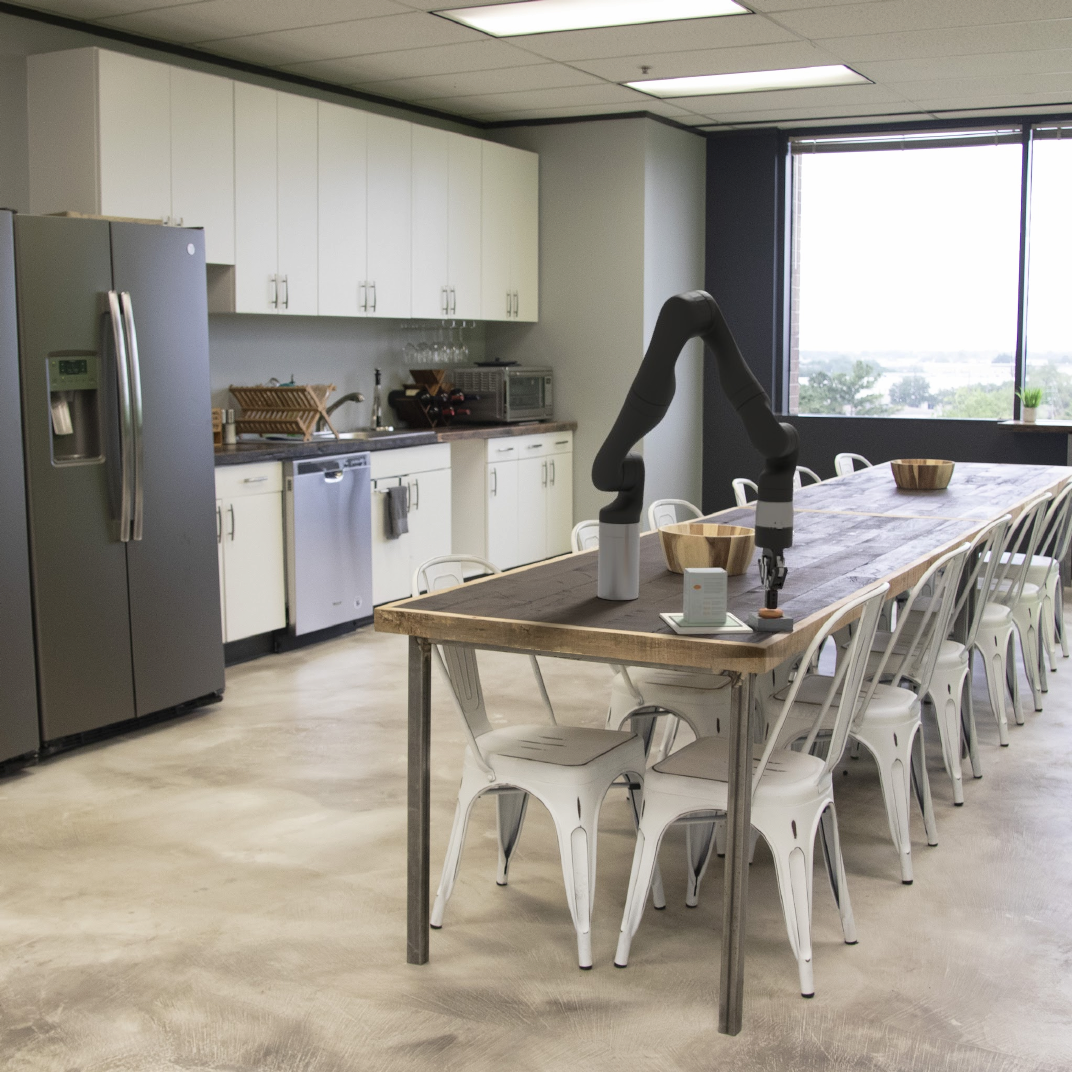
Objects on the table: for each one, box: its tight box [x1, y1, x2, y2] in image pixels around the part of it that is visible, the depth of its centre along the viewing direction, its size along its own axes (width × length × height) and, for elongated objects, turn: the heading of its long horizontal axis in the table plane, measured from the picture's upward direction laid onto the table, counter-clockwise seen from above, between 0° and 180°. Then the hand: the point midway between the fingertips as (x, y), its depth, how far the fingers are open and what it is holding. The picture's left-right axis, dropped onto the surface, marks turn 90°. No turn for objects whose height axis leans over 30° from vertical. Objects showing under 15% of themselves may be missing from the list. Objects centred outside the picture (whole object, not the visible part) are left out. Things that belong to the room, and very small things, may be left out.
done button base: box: [747, 611, 794, 632], centre depth 257 cm, size 7×7×2 cm
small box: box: [682, 567, 728, 623], centre depth 259 cm, size 8×6×10 cm
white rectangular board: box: [659, 611, 754, 635], centre depth 259 cm, size 18×15×1 cm
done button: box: [758, 607, 784, 618], centre depth 257 cm, size 5×5×3 cm
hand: (770, 608), depth 256 cm, fingers closed
